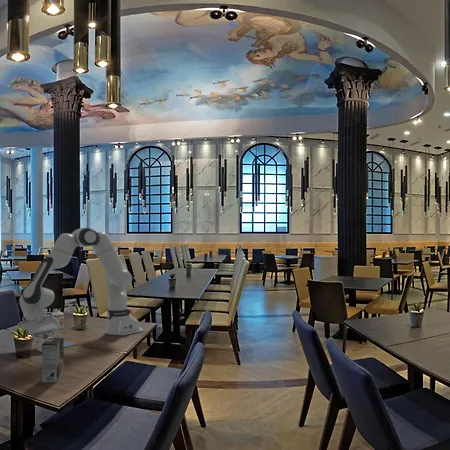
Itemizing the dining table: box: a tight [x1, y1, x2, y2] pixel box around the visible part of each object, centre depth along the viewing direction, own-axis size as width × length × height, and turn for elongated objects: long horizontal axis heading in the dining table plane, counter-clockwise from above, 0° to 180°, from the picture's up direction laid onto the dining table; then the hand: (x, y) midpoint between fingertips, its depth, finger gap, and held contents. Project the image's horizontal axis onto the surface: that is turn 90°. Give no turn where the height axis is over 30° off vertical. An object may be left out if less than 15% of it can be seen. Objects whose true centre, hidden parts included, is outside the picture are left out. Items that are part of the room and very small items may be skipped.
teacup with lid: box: [51, 309, 65, 330], centre depth 261 cm, size 12×9×12 cm
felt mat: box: [64, 340, 78, 349], centre depth 223 cm, size 9×9×1 cm
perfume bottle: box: [36, 333, 53, 353], centre depth 213 cm, size 6×6×8 cm
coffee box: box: [41, 337, 65, 383], centre depth 173 cm, size 9×6×16 cm
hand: (45, 340), depth 213 cm, fingers open, 8 cm apart
